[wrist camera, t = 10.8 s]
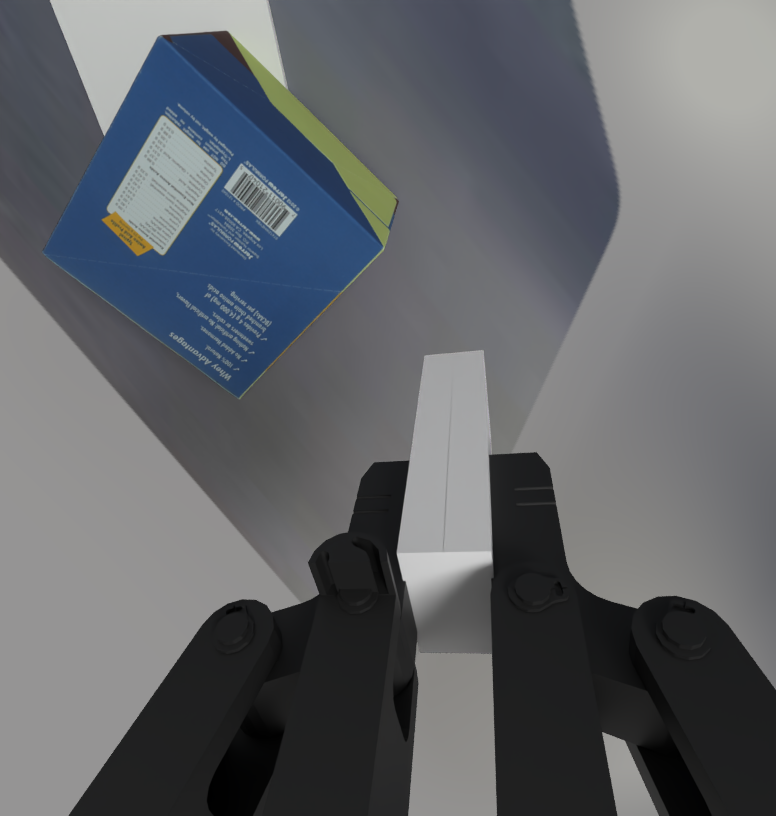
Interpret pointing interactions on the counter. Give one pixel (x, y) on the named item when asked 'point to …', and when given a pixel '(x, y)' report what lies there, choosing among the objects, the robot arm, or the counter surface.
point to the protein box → (220, 210)
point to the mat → (153, 38)
